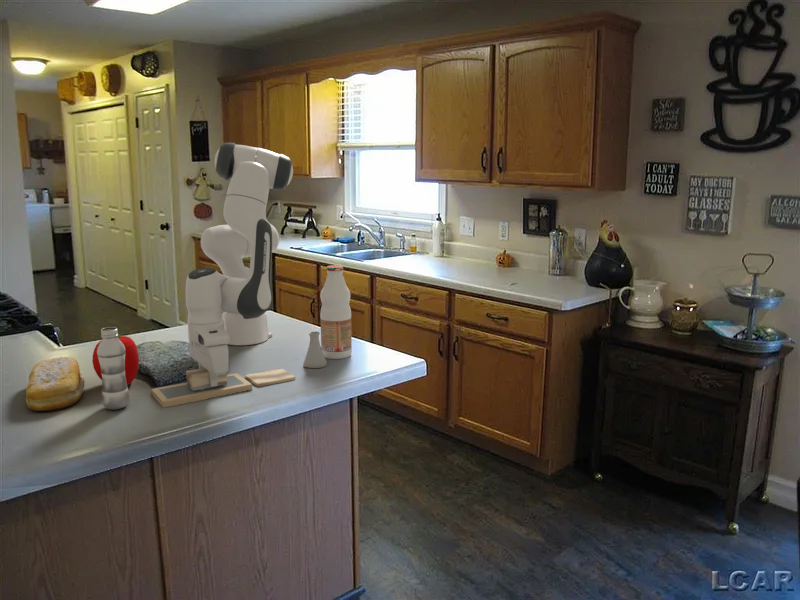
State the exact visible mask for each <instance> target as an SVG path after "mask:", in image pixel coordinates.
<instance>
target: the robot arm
mask: <svg viewBox="0 0 800 600" xmlns="http://www.w3.org/2000/svg"><path fill="white" fill-rule="evenodd" d="M214 168H215V172H216V174H217V175H218V176H219V177H220V178H221V179H224V180H226V181H229V180H230V181H229V184H228V187H227V191H226V195H225V200H224V204H223V212H222V213H223V218H224V221H225V223H226V224H219V225H215V226H212V227H208V228H205V230H204V231H203V232H202V234H201V237H200V247H201V250H202V251H203V254H205V256H206V257H208V259H211V260H212V261H213V262H214V263H216V264H217V266H218V267H219V268H220V271H221V272H222V273H220V272H218V270H217V269H216V268H214V267H200V268H196V269H194V270H192V271H190V272H189V273H188V274H187V277H186V281H185V305H186V308H187V311H188V314H187V315H188V316H187V321H186V323H187V334H188V335H187V336H188V342H189V343H188V350H189V357H190V358H191V359H192V360H194V361H195V362H196V363H197V364H198V369H200V368H205V369H207V370H208V371H209V374H210V379H209V385H210V386H212V387H214V386H217V385H218V381H217V379H218V376H219V375H222V374H226V373H227V374H228V371H229V347H228V345H230V346H231V345H232V346H251V345H256V344H260V343H264V342H266V341H267V340H268V339H269V338H271V337H273V333H272V332H270V331H269V325H268V315H267V311H268V310H269V308H270V307H271V306H272V302H273V292H272V286H271V284H272V283H271V280H272V279H271V275H272V259H273V258H272V256H273V253H274V252H275V251H276V250H277V249H278V247H279V244H280V235H279V232H278V230H277V228H276V227H275V226H274V225H273V224H271V223H270V222H269V221H268V218H267V215H266V214H267V213H266V211H267V206H268V199H269V193H270V189H271V190H273V191H283V190H285V189H286V188H288V185H290V183H291V181H292V179H293V175H294V168H293V162H292V160H291V158H290V157H289V156H286V155H285V154H283V153H277V152H274V151H272V150H268V149H265V148H261V147H254V146H249V145H244V144H236V142H224V143H222V144H221V145H220V147H219V148H218V149H217V151H216V153H215V155H214ZM244 258H250V263H249V267H248V266H245V265H244V261H243V259H244Z"/></svg>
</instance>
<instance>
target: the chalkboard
mask: <svg viewBox="0 0 800 600" xmlns="http://www.w3.org/2000/svg"><path fill="white" fill-rule="evenodd" d="M247 390H248V391H252V390H253V383H252V382H250V381H249V380H248V379H246V378H245V377H243V376H242V375H240V374H239V373H238V372H235V373H229V374H227V385H221V386H216V387H211V388H206V389H200V390H195V391H193V390H192V389H190V388H189V387H188V386H187V381H186V382H181V383H177V384H171V385H166V386H161V387H160V386H159V387H155V388H151V395H152V396H153V398H154V399H155V400H156V401H157V402H158V403H159V405H161V407H162V408H169V407H173V406H178V405H183V404H189V403H193V402H197V401H198V402H199V401H203V400H209V399H212V397H213V398H218V397H223V396H227V394H228V395H232V393H233V394H237V393H236V392H238V393H242V391H243V392H247ZM208 398H209V399H208Z"/></svg>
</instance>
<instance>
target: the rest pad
mask: <svg viewBox="0 0 800 600" xmlns="http://www.w3.org/2000/svg"><path fill="white" fill-rule="evenodd" d="M244 379H246V380H247V381H248V382H250V383H251V384H252V385H254V384H255V385H254V386H256V387H257V388H260V387H264V386H270V385H275V384H279V383H285V382H289V381H294V380H295V381H296V376H295V375H294V374H292V373H290V372H289V371H287V370H286V369H284V368H281V367H280V368H277V369H271V370H266V371H260V372H254V373H249V374H245V375H244Z"/></svg>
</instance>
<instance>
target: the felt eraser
mask: <svg viewBox="0 0 800 600" xmlns="http://www.w3.org/2000/svg"><path fill="white" fill-rule="evenodd" d="M185 373H186V374H185V375H186V382H187V386H188V387H189V388H190V389H192V390H193V391H195V390H200V389H206V388H211V387H212V386H210V385H209V379H210V374H209V371H208V370H207V369H205V368H200V369H199V368H197V369H190V370H189V369H188V370H186V371H185ZM227 375H228V372H227V373H226V374H222V375H219V376H218V379H217V381H218V385H217V386H221V385H227ZM214 387H216V386H214Z"/></svg>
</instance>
